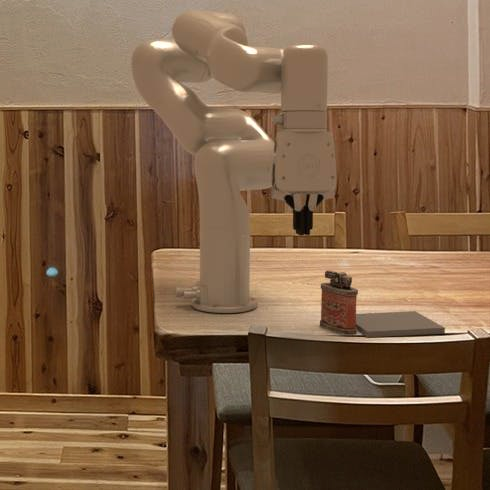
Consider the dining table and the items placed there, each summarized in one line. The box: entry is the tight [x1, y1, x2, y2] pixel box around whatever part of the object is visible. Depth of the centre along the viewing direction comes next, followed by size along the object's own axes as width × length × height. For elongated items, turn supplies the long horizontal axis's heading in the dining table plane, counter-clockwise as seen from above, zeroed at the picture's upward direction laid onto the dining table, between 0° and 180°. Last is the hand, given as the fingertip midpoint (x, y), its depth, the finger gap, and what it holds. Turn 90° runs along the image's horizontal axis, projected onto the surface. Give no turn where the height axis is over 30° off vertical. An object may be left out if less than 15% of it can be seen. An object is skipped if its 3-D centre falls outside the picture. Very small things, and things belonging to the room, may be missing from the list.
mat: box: [356, 310, 446, 338], centre depth 140 cm, size 14×12×1 cm
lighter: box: [319, 269, 359, 336], centre depth 137 cm, size 8×3×10 cm, turn 35°
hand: (302, 234), depth 133 cm, fingers closed
